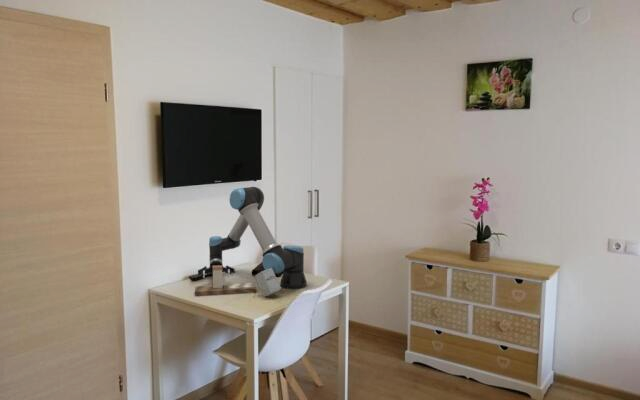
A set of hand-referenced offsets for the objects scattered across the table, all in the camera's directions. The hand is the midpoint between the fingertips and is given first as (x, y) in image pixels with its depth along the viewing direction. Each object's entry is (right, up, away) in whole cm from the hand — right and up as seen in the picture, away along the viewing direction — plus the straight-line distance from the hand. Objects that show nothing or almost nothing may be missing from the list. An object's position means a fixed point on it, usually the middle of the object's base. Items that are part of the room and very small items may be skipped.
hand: (216, 275), depth 280 cm
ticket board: (+5, -9, 0) cm, 11 cm away
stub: (+1, -7, -1) cm, 7 cm away
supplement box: (+32, -8, -9) cm, 34 cm away
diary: (+26, -5, +45) cm, 52 cm away
